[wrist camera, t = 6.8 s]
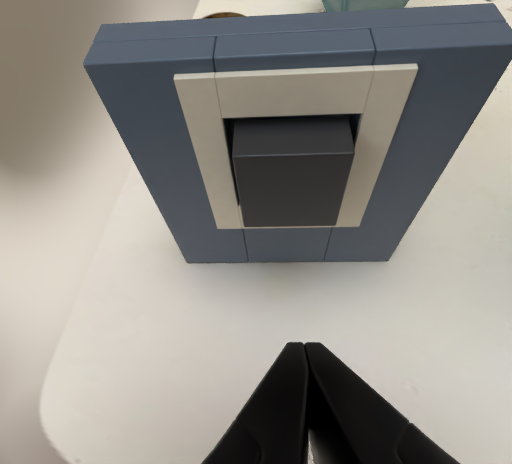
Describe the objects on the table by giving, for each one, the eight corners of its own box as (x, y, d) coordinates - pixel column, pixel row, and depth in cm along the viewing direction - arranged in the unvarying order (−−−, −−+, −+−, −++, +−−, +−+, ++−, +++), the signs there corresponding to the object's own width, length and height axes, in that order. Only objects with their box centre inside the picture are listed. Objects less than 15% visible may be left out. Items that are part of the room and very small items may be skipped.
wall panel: (389, 265, 23) (527, 48, 10) (186, 267, 24) (78, 69, 11) (381, 230, 24) (494, 2, 12) (191, 233, 25) (100, 23, 12)
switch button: (336, 226, 16) (355, 153, 12) (243, 228, 16) (231, 157, 12) (332, 193, 17) (348, 115, 13) (245, 195, 17) (234, 119, 13)
